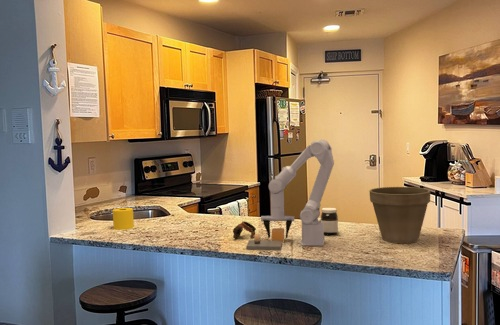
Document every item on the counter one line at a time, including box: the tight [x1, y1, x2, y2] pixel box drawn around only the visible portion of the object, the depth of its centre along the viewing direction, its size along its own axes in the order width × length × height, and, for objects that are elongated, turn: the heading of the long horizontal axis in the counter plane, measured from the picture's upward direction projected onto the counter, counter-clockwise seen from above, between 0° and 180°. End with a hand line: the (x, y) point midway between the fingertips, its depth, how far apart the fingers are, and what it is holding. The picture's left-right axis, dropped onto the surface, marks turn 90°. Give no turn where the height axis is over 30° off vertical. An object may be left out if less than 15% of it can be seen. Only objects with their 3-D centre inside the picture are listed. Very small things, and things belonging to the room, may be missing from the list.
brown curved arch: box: [232, 220, 257, 239], centre depth 206 cm, size 12×10×8 cm
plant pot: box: [368, 186, 431, 244], centre depth 196 cm, size 25×25×22 cm
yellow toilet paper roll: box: [112, 207, 135, 231], centre depth 234 cm, size 10×10×9 cm
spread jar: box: [317, 207, 339, 237], centre depth 211 cm, size 12×11×12 cm
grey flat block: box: [245, 233, 283, 251], centre depth 190 cm, size 14×10×5 cm
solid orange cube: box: [271, 227, 285, 243], centre depth 199 cm, size 5×5×5 cm
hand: (277, 237), depth 199 cm, fingers open, 7 cm apart
